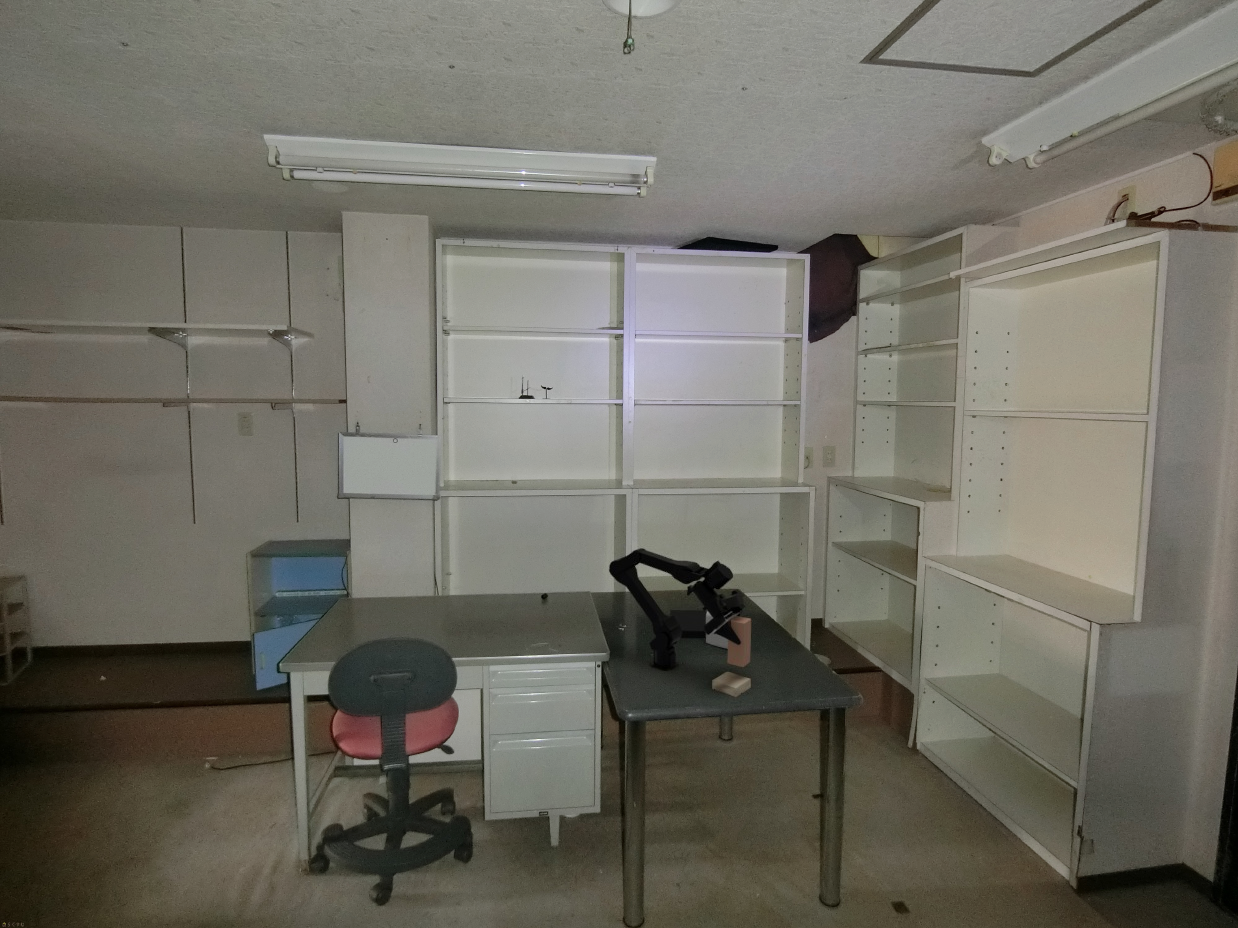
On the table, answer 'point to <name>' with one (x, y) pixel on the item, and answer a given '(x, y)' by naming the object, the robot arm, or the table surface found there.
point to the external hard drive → (691, 622)
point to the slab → (731, 684)
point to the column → (741, 652)
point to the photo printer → (715, 636)
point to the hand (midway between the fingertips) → (743, 641)
